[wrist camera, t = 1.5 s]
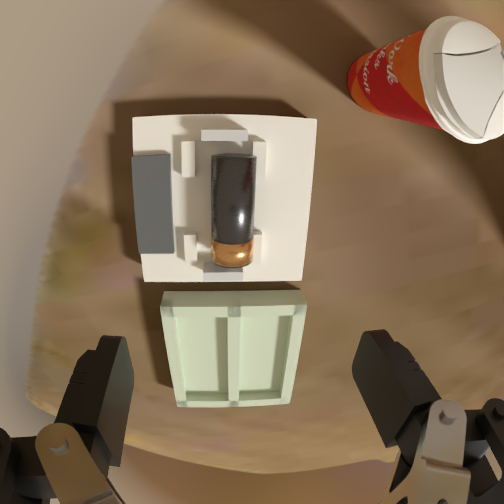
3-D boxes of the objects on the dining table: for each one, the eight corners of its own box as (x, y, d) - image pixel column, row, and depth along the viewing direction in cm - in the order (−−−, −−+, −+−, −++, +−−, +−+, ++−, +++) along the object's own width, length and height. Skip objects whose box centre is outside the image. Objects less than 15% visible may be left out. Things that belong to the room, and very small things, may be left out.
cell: (243, 152, 24) (265, 158, 21) (240, 254, 27) (260, 270, 25) (203, 154, 22) (222, 160, 20) (205, 261, 26) (222, 279, 23)
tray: (300, 289, 32) (307, 304, 29) (285, 387, 38) (289, 403, 36) (164, 291, 30) (159, 306, 28) (178, 390, 37) (177, 406, 34)
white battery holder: (308, 118, 25) (324, 120, 21) (295, 267, 31) (306, 291, 27) (140, 116, 23) (125, 118, 19) (149, 268, 29) (140, 292, 25)
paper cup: (378, 31, 21) (483, -3, 9) (422, 98, 24) (535, 110, 12) (316, 72, 23) (405, 44, 10) (367, 141, 26) (473, 175, 13)
